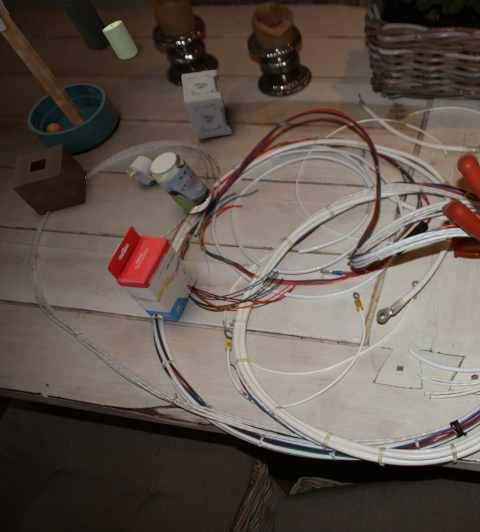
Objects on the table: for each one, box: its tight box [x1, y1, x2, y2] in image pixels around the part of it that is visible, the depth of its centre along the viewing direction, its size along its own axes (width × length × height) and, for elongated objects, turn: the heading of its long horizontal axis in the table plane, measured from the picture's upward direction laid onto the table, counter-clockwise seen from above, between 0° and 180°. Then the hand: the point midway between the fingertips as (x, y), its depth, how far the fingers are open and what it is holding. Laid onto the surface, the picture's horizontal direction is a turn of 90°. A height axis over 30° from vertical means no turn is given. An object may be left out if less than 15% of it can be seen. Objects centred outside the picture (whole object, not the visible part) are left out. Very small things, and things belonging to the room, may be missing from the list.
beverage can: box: [151, 151, 211, 214], centre depth 98 cm, size 6×7×12 cm
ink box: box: [106, 225, 197, 321], centre depth 86 cm, size 8×5×15 cm, turn 170°
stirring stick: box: [0, 5, 87, 127], centre depth 105 cm, size 2×2×28 cm
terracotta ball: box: [47, 123, 63, 133], centre depth 117 cm, size 3×3×3 cm
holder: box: [11, 144, 87, 216], centre depth 105 cm, size 9×9×8 cm
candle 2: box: [103, 20, 139, 60], centre depth 131 cm, size 5×5×8 cm
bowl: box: [26, 82, 119, 154], centre depth 117 cm, size 16×16×6 cm
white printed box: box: [181, 69, 233, 140], centre depth 112 cm, size 10×8×10 cm
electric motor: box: [124, 155, 156, 187], centre depth 106 cm, size 7×5×5 cm
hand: (4, 23), depth 97 cm, fingers closed on stirring stick, 2 cm apart
